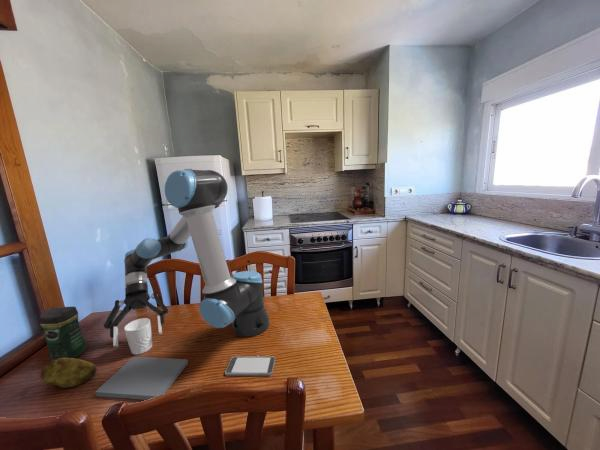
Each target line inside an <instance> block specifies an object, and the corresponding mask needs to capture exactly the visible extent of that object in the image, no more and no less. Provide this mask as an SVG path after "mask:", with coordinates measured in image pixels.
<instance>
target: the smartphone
mask: <svg viewBox="0 0 600 450" xmlns="http://www.w3.org/2000/svg"><path fill="white" fill-rule="evenodd" d="M275 362H276V357H275V356H232V357H231V358H230V360H229V363H228V365H227V367H226V369H225V371H224V375H225V376H226V377H236V376H237V377H271V376H273V373H274V368H275V364H276V363H275Z"/></svg>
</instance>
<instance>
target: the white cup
mask: <svg viewBox="0 0 600 450" xmlns="http://www.w3.org/2000/svg"><path fill="white" fill-rule="evenodd" d="M123 331H124V333H125V336H126V340H127V341H126V342H127V343H128V347H129V349H130V353H131V354H132V355H141V354H144V353H146V352H147V351H149V350H150V349H151V348H153V339H152V338H153V336H152V335H153V334H152V325H151V320H150V319H149V318H147V317H143V318H138V319H134V320H132V321H130V322H129V323H127V324H126V325H125V326H124V327H123Z"/></svg>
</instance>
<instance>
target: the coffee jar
mask: <svg viewBox="0 0 600 450" xmlns="http://www.w3.org/2000/svg"><path fill="white" fill-rule="evenodd" d="M38 318H39V325H40V327H41V329H42V330H43V333H44V337H45V341H46V346H47V352H48V355H49V356H48V357H49V360H50V362H51V361H52V360H55V359H58V358H62V357H66V358H78V357H79V356H81V355H82V354H83V353H84V352H85V351H86V350H87V344H86V342H85V337H84V335H83V333H82V329H81V326H80V322H79V311H78V310H77V306H58V307H54V306H53V307H50V308H49V309H46V310H44V311H43V312H41V313H40V315H39V317H38Z"/></svg>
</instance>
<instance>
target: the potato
mask: <svg viewBox="0 0 600 450" xmlns="http://www.w3.org/2000/svg"><path fill="white" fill-rule="evenodd" d="M96 373H97V366H96V365H95V363H93V362H91V361H87V360H84V359H80V358H78V357H76V358H66V357H62V358H58V359H55V360H52V361H51V360H50V361H49V362H48V363H46V365H44V366H43V368H42V369H41V371H40V378H41V380H42V381H43V382H44V383H45V384H47V385H51V386H59V387H60V388H71V387H75V386H78V385H81V384H83V383H85V382H87V381H89V380H90V379H91V378H93V377H94V376H95V374H96Z"/></svg>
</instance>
